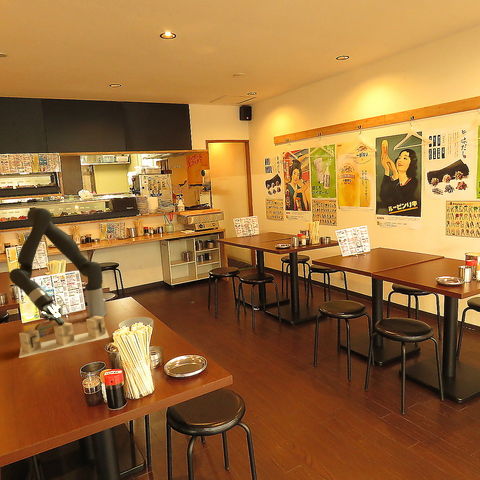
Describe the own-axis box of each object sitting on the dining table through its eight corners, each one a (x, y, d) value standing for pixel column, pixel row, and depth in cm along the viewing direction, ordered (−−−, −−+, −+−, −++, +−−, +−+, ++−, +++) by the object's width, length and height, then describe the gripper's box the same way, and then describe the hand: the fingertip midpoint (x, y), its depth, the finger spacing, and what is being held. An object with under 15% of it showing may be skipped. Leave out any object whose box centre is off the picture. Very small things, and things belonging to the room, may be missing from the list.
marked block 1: (98, 332, 205) (96, 315, 204) (106, 333, 202) (104, 317, 200) (88, 336, 200) (86, 319, 199) (96, 338, 197) (94, 321, 195)
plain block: (67, 338, 199) (64, 321, 197) (74, 340, 195) (72, 323, 194) (56, 343, 194) (53, 326, 192) (63, 345, 190) (61, 327, 189)
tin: (37, 341, 201) (35, 325, 200) (34, 340, 203) (32, 324, 202) (65, 331, 213) (63, 316, 212) (62, 330, 215) (60, 315, 214)
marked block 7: (34, 346, 192) (31, 328, 191) (41, 348, 189) (38, 330, 187) (22, 351, 187) (19, 333, 186) (29, 353, 184) (26, 335, 182)
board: (105, 330, 209) (105, 328, 209) (109, 339, 197) (109, 337, 197) (21, 349, 192) (20, 347, 192) (19, 360, 180) (18, 357, 180)
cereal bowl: (119, 345, 189) (117, 331, 187) (120, 332, 204) (118, 320, 203) (155, 339, 193) (153, 325, 192) (153, 327, 209) (152, 314, 208)
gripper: (32, 298, 188) (55, 323, 185) (54, 290, 200) (76, 314, 197) (26, 308, 191) (48, 333, 188) (48, 299, 203) (69, 323, 200)
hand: (62, 323), depth 193 cm, fingers closed
